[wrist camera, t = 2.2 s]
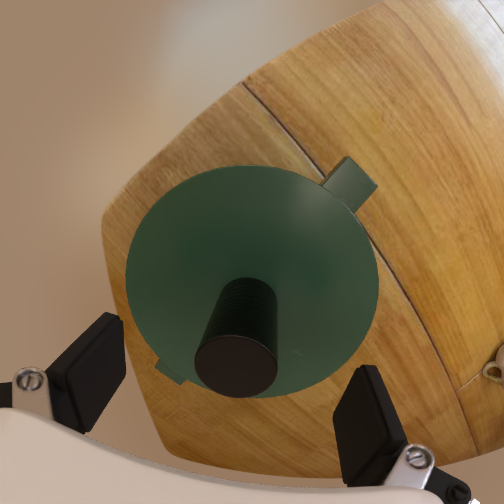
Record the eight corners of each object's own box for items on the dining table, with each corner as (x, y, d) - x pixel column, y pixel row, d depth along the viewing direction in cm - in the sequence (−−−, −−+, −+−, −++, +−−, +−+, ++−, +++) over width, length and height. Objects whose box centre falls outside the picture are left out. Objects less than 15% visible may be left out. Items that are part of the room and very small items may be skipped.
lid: (99, 296, 18) (40, 348, 11) (233, 109, 14) (203, 70, 7) (260, 413, 20) (254, 486, 13) (415, 283, 16) (473, 340, 9)
